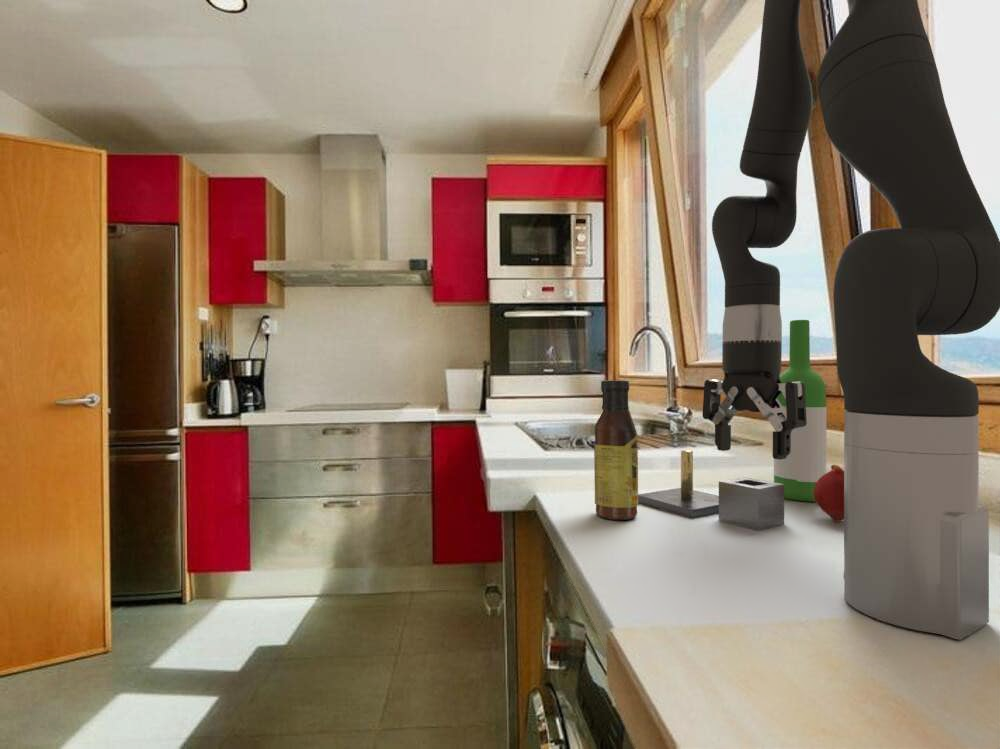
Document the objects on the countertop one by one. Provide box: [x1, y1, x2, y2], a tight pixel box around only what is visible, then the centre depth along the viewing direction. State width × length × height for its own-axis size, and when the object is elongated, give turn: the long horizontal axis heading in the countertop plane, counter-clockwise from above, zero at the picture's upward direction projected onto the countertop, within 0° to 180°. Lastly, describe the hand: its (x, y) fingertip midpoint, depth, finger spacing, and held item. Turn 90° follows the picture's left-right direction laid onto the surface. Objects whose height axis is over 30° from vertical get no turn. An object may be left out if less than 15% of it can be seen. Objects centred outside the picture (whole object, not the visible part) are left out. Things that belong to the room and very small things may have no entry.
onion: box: [813, 464, 844, 523], centre depth 74 cm, size 6×6×8 cm
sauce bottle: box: [593, 379, 639, 521], centre depth 76 cm, size 7×6×20 cm
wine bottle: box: [773, 319, 827, 502], centre depth 88 cm, size 8×8×30 cm
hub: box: [638, 449, 719, 519], centre depth 83 cm, size 11×11×9 cm
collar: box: [718, 476, 785, 531], centre depth 73 cm, size 6×6×6 cm
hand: (750, 454), depth 74 cm, fingers open, 8 cm apart
